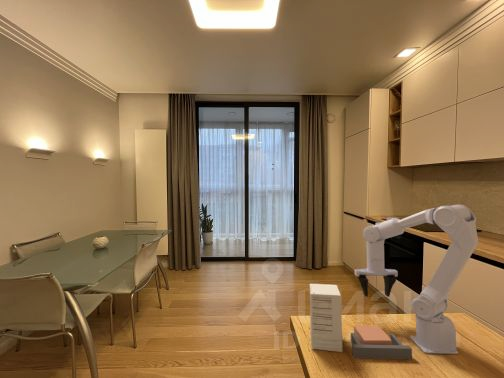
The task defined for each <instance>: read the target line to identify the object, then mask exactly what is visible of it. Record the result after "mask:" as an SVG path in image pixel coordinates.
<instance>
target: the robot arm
mask: <svg viewBox="0 0 504 378" xmlns="http://www.w3.org/2000/svg"><path fill="white" fill-rule="evenodd" d="M476 222H477V216H475V214H474V213H473V212H472V210H471V209H470V208H469V207H468V206H466V205H464V204H459V203H458V204H453V205H442V206H438V207H433V208H428V209H424V210H422V211H420V212H416V213H414V214H412V215H409V216H406V217H404V218H402V219H400V218H398V217H393V216H392V217H391V216H390V217H387V218H386V220H384V221H382V222H379V221H377V222H375V225H367V226H366V227H364V229H363V231H362V236H363V238H364V240H365V241H366V242H365V243H366V268H359V269H354V275H355V276H356V278H357V279H358V281H359V284H360V286H361V288H362V293H363V295H364V297H368V296H369V293H368V292H369V291H368V287H369V286H368V285H369V279H368V278H367V277H382V278H383V282H384V283H383V284H384V295H385V296H386V297H387V298H389V297H390V296H391V291H392V289H393V286H394V285H395V283H396V282H397V278H398V275H399V274H398V273H399V272H398V270H396V269H392V268H388V269H387V268H385V245H384V244H385V241H386V239H389V238H393V237H396V236H399V235H402V234H404V232H405V230H406V229H410V228H412V227H416V226H419V225H423V224H425V223H428V224H430V225H435V224H436V225H437V226H438V227H439V228H440V229H441V230H442V231H444V233H446V234H447V236H448V238H449V239H450V245H449V246H448V248H447V250H446V251H445V253H444V255H443V257H442V258H441V261H440V263H439V264H438V266H437V268H436V270H435V271H434V273H433V275H432V277H431V279H430V281H429V282H428V285H427V286H426V287H425V288H424V289H423V290H422V291H421V292H420V294H419V295H418V296H416V297H415V298H413V299H412V300H411V302H410V306H411V310H412V311H413V313H414V314H415V332H416V333H415V335H410V336H409V339H411V340H412V341H413V343H415V345H417V347H419V349H420V350H422V352H423V353H424V354H440V355H442V354H443V355H444V354H445V355H446V354H447V355H448V354H449V355H451V354H452V355H458V354H459V351H457V331H456V326H455V324H454V322H453V320H452V319H451V318H450V317H448V316H446V315H444V312H446V310H447V309H448V305H449V304H448V300H449V298H450V294H449V293H450V291H451V289H452V288H453V286H454V285H455V283H456V281H457V280H458V278H459V277H460V274H461V273H462V271H463V270H464V268H465V266H466V264H467V263H468V261H469V259H470V257H471V256H472V254H473V253H474V251H475V249H476V248H477V246H478V245H479V238H478V237H479V236H478V232H477V225H476ZM396 277H397V278H396Z"/></svg>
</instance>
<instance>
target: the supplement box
mask: <svg viewBox="0 0 504 378" xmlns="http://www.w3.org/2000/svg"><path fill="white" fill-rule="evenodd" d="M309 304H310V306H309V307H310V309H309V310H310V311H309V313H310V314H309V317H310V324H309V325H310V329H309V330H310V347H311V349H312V350H320V351H329V352H339V353H343V323H342V322H343V321H342V319H343V318H342V317H343V316H342V295H341V292H340V289H339V286H338V285H337V284H327V283H326V284H323V283H309Z"/></svg>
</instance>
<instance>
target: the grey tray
mask: <svg viewBox="0 0 504 378" xmlns="http://www.w3.org/2000/svg"><path fill="white" fill-rule="evenodd" d="M389 338H390V339H391V340H392V345H365V344H360V342H359V340H358V339H357V337H356V335H355V334H354V332H350V343H351V345H352V346H351V347H352V353H351V354H352V356H353V358H354V359H379V360H380V359H381V360H382V359H385V360H387V359H388V360H413V349H412V347H411V346H410V345H408V344H407V345H405V344H403V343H402V342H401V341H400V339H399V338H398V337H397V336H396V335H395V333H389Z"/></svg>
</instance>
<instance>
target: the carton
mask: <svg viewBox="0 0 504 378" xmlns="http://www.w3.org/2000/svg"><path fill="white" fill-rule="evenodd" d="M353 331H354V332H353V333H354V334H355V335H356V337H357V339H358V340H359V342H360V344H365V345H392V340H391V339H390V336H389V335H387V333H386V332H385V331H384V330H383V328H382V327H380V325H353Z"/></svg>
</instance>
